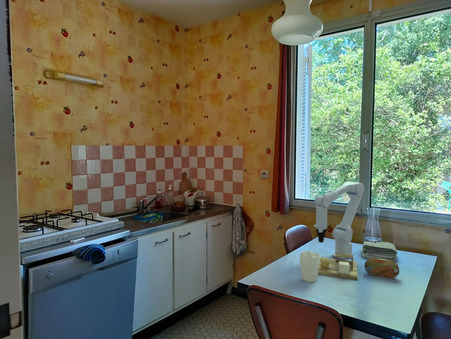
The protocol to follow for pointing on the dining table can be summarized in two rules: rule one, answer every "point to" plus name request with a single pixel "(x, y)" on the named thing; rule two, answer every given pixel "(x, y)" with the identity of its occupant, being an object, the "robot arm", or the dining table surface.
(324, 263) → the slider
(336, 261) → the board tunnel
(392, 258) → the towel
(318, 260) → the cup
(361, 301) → the dining table surface
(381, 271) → the tin
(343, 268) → the block
